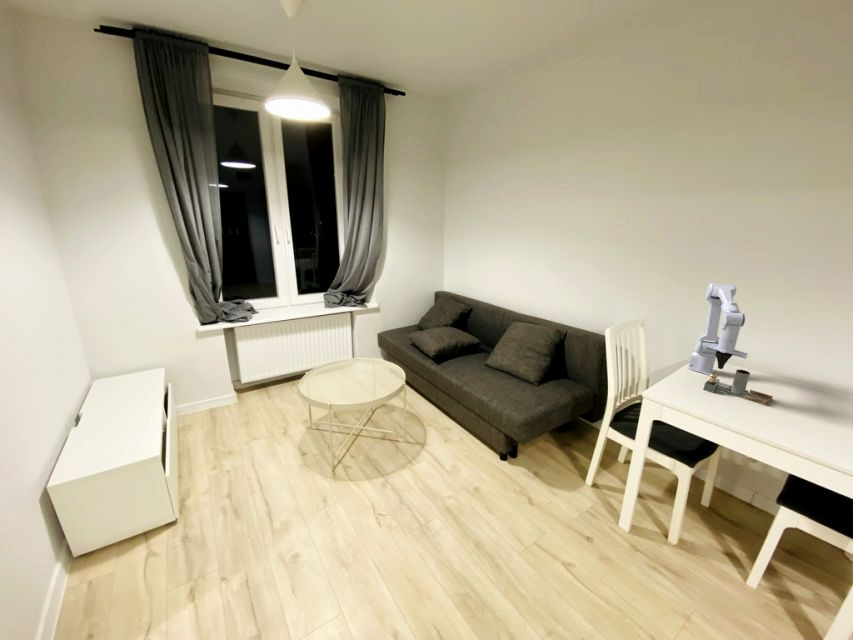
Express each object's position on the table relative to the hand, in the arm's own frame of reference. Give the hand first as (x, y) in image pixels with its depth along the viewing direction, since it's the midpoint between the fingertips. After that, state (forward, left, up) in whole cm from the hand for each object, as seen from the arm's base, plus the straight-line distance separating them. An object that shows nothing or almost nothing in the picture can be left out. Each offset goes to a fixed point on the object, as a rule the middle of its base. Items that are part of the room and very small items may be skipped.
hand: (720, 368), depth 156 cm
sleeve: (+3, +4, -11) cm, 12 cm away
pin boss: (-1, -3, -11) cm, 11 cm away
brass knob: (-1, -3, -8) cm, 8 cm away
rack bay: (+14, +4, -11) cm, 18 cm away
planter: (+7, +4, -11) cm, 13 cm away
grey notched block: (0, +4, -11) cm, 11 cm away
